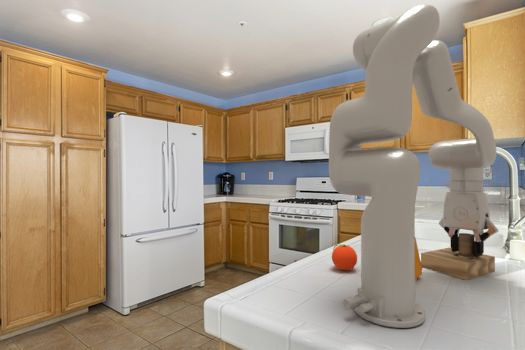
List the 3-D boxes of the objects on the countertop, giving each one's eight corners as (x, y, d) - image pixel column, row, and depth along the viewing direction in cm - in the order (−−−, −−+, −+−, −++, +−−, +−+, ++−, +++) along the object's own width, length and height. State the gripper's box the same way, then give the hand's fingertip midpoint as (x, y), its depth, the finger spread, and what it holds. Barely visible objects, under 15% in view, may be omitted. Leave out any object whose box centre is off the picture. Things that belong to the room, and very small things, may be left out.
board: (465, 279, 74) (465, 263, 74) (420, 267, 85) (420, 253, 85) (494, 271, 81) (494, 256, 81) (449, 260, 91) (449, 247, 91)
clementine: (324, 267, 85) (323, 242, 85) (341, 264, 88) (341, 240, 89) (344, 275, 78) (344, 248, 78) (362, 271, 82) (362, 245, 82)
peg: (470, 273, 79) (469, 236, 79) (455, 269, 82) (455, 233, 82) (478, 271, 81) (477, 234, 81) (463, 267, 84) (463, 232, 84)
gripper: (427, 186, 87) (428, 248, 87) (494, 188, 72) (495, 263, 72) (443, 186, 91) (443, 245, 91) (509, 188, 76) (510, 259, 76)
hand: (466, 252), depth 82 cm, fingers open, 5 cm apart
